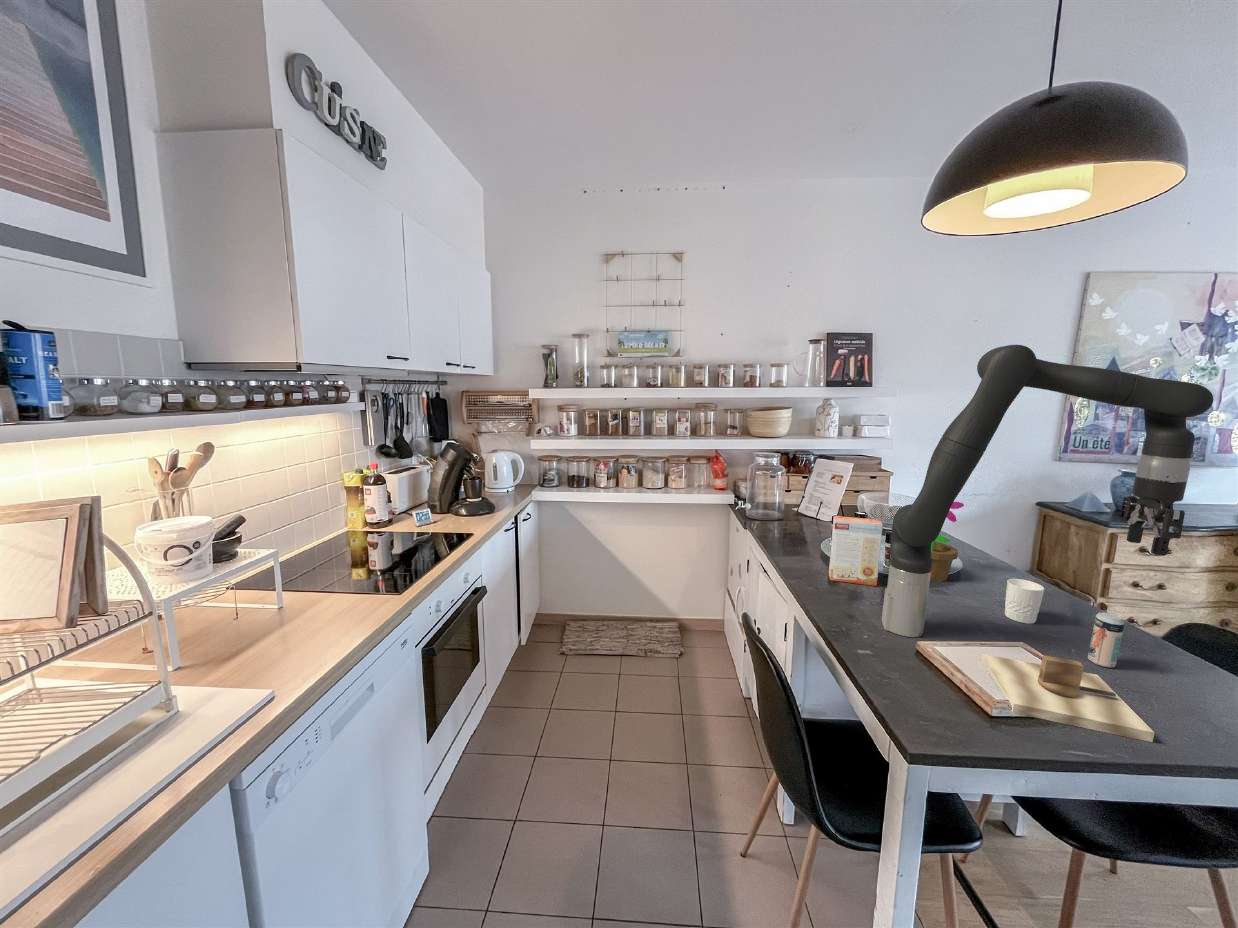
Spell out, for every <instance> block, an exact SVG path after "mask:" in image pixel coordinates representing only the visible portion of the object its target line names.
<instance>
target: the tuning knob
mask: <svg viewBox="0 0 1238 928" xmlns="http://www.w3.org/2000/svg"><path fill="white" fill-rule="evenodd" d="M1040 663H1041V668H1040V674H1039V676H1038V683H1039V684H1040V685H1041V686H1042V687H1044V688H1045V689H1047V690H1049V691H1051V692H1053V693H1056V694H1059V695H1062V696H1067V697H1077V696H1078V695H1079V692H1080V690H1082V691H1087V692H1093V693H1098V694H1103V695H1108V696H1114V697H1115V696H1116V694H1117V693H1116V692H1115V691H1114V692H1115V693H1116V694H1115V693H1114V692H1108V691H1103V690H1098V689H1092V688H1087V687H1082V686H1080V683H1081V678H1082V673H1083V671H1084V668H1085V667H1084V665H1083V664H1082V663H1081V662H1080V661H1078V660H1072V659H1066V658H1060V657H1054V656H1049V655H1042V658H1041V662H1040Z"/></svg>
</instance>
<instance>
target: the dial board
mask: <svg viewBox="0 0 1238 928" xmlns="http://www.w3.org/2000/svg"><path fill="white" fill-rule="evenodd" d="M981 659H982V660H983V662H984V663H985V665H986V667H987V669H988V670H989V672H990V673H991V675H992V676H993V678H994V679H995V681H996V682H997V683H998V685H999V687H1000V688H1001V689H1002V691H1003V693H1004V695H1005V696H1006V698H1007V699H1008V700H1009V701H1010V703H1011V705H1012V710H1010V711H1011V713H1013V714H1018V715H1022V716H1027V717H1031V718H1035V719H1040V720H1045V721H1049V722H1055V723H1059V724H1065V725H1068V726H1069V725H1070V726H1074V727H1079V728H1082V729H1083V728H1084V729H1089V730H1093V731H1097V732H1102V733H1105V734H1112V735H1116V736H1122V737H1126V738H1130V739H1135V740H1141V741H1145V742H1150V743H1153V741H1154V737H1155V734H1156V733H1155V731H1154V730H1153V729H1152V728H1151V727H1150V726H1149V725H1148V724H1147V723H1146V722H1145V721H1144V720H1143V719H1142V718H1141V717H1140V716H1139V715H1138V713H1136V712H1135V711H1134V710H1133V709H1132V708H1131V707H1130V706H1129V705H1128V704H1127V703H1126V702H1125V701H1124V700H1123V699H1122V698H1121V697H1120V696H1119V695H1118V694H1117V693H1116V692H1115V691H1114V690H1113V688H1111V686H1109V685H1108V684H1107V683H1106V682H1105V680H1103V679H1102V678H1101V677H1100V676H1099V675H1098V674H1095V673H1089V672H1085V671H1084V672H1083V673H1082V678H1081V683H1080V686H1082V687H1087V688H1092V689H1098V690H1103V691H1108V692H1114V693H1115V694H1116V696H1115V697H1114V696H1108V695H1103V694H1098V693H1093V692H1087V691H1082V690H1080V692H1079V695H1078V696H1077V697H1067V696H1062V695H1059V694H1056V693H1053V692H1051V691H1049V690H1047V689H1045V688H1044V687H1042V686H1041V685H1040V684H1039V683H1038V676H1039V674H1040V668H1041V664H1040V663H1034V662H1029V661H1023V660H1018V659H1011V658H1006V657H1001V656H995V655H990V654H984V653H982V654H981Z"/></svg>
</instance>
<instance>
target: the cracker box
mask: <svg viewBox="0 0 1238 928" xmlns="http://www.w3.org/2000/svg"><path fill="white" fill-rule="evenodd" d="M832 522H833V523H832V531H831V532H832V533H831V543H830V544H831V545H830V553H829V555H830V557H829V567H828V577H829V580H830V581H832V582H841V583H850V584H858V585H866V586H874V587H877V586H878V585H877V584H878V577H879V567H880V559H881V558H880V557H881V547H882V539H883V538H882V537H883V528H884V524H883V523H882V521H881V520H880V519H874V518H865V517H864V518H861V517H852V516H841V515H840V516H839V515H834V516H833V520H832Z"/></svg>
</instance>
